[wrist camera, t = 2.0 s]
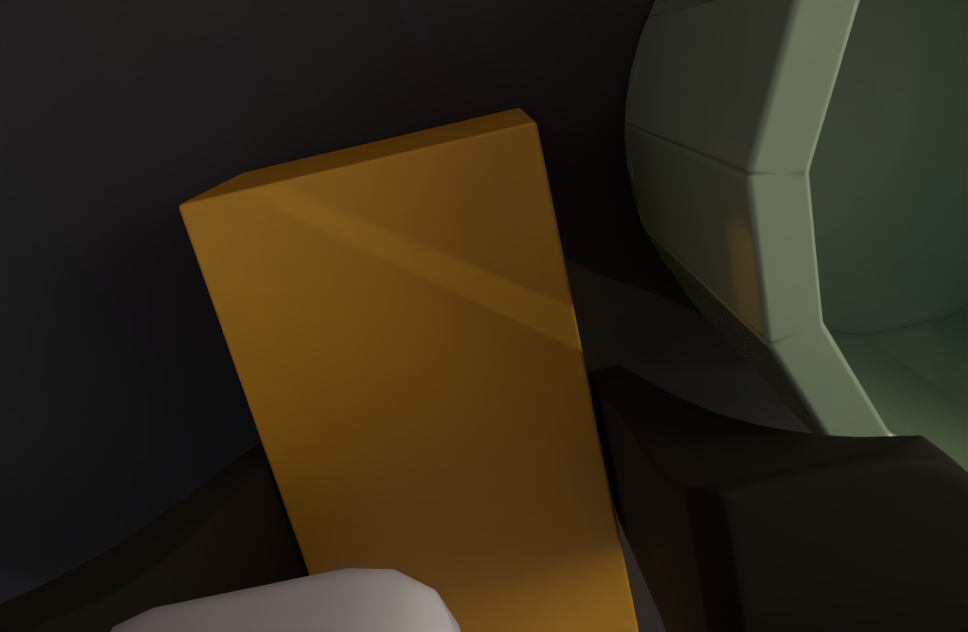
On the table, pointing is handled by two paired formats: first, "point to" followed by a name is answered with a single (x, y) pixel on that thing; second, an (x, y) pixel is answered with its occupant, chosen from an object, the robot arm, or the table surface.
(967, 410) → the cup
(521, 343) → the block
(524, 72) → the table surface
